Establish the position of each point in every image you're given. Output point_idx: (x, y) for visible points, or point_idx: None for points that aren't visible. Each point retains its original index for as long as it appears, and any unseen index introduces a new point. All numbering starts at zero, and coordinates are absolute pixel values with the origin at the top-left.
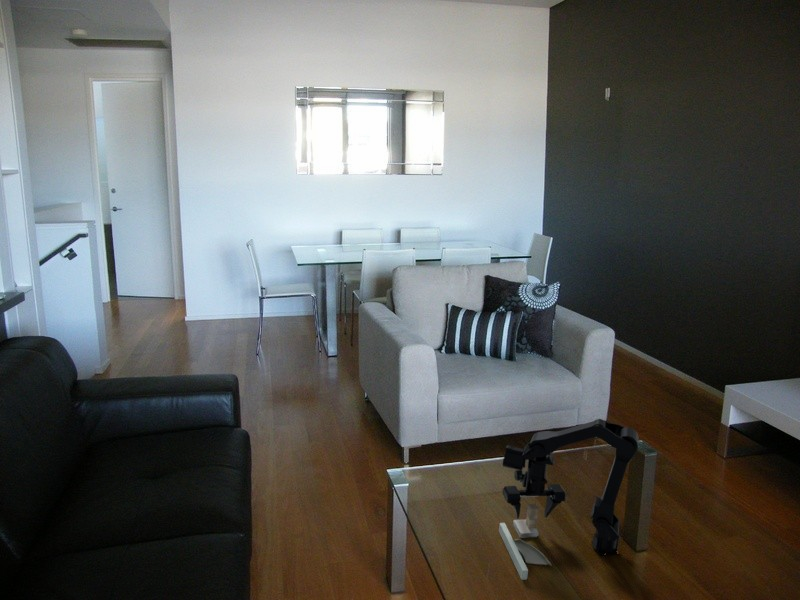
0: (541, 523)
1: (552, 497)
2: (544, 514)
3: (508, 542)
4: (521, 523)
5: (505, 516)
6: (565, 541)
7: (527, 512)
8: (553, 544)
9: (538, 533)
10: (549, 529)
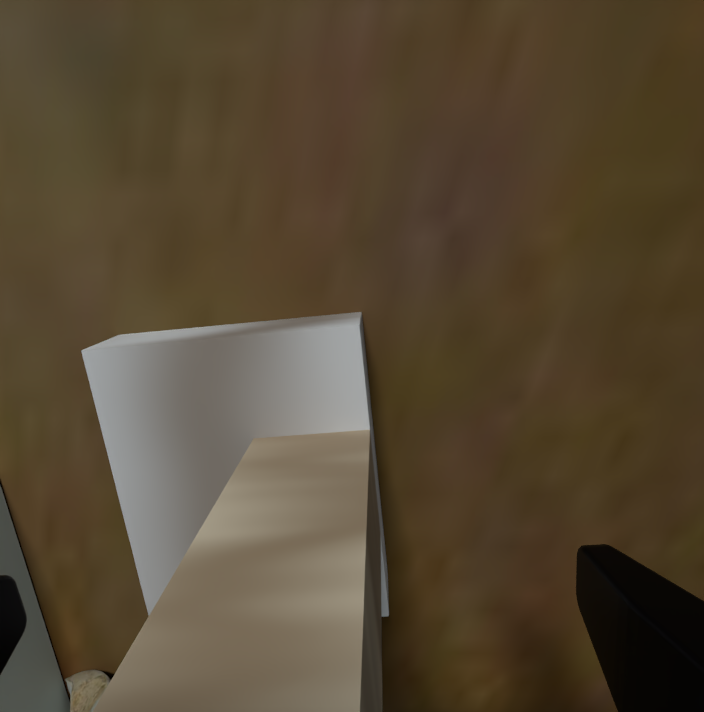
0: (519, 318)
1: None
2: (589, 560)
3: None
4: (190, 435)
5: (23, 156)
6: None
7: (175, 596)
8: (522, 687)
9: (388, 606)
10: (582, 445)
